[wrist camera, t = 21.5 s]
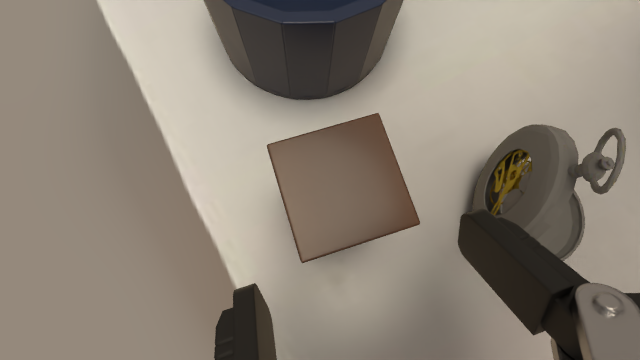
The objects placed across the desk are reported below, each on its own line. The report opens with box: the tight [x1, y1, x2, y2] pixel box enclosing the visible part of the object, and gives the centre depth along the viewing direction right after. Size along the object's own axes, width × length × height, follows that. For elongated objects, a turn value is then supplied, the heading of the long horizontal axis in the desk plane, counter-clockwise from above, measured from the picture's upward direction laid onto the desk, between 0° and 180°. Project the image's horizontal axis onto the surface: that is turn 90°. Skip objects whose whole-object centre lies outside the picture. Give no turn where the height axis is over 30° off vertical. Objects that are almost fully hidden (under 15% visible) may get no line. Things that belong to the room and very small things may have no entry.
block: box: [267, 113, 420, 263], centre depth 15 cm, size 4×4×9 cm
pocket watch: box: [473, 125, 626, 261], centre depth 15 cm, size 8×8×10 cm
